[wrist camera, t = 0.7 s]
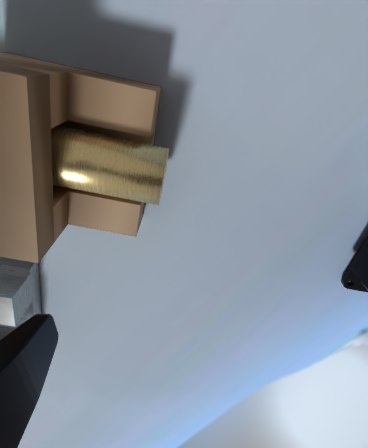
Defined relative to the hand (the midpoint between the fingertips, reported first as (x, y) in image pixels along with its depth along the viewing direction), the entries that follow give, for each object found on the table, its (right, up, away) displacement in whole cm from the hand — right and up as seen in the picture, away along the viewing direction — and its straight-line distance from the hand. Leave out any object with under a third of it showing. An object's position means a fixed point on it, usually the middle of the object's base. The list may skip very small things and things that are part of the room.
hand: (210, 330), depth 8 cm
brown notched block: (-7, +8, +9) cm, 13 cm away
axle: (-7, +7, +8) cm, 13 cm away
